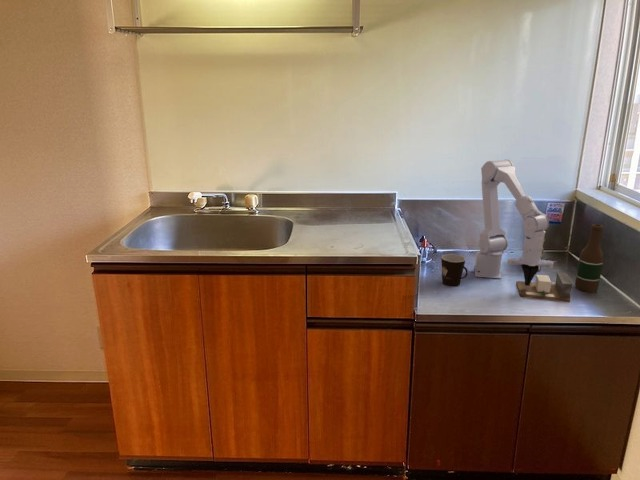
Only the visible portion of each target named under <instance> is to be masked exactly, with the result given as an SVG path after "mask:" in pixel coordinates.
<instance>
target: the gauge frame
mask: <svg viewBox="0 0 640 480" xmlns="http://www.w3.org/2000/svg"><path fill="white" fill-rule="evenodd" d="M555 283H556V286H555V287H551V288H550V293H548V292H545V293H546V295H544V293H543V292H538V291H537V289H536V287H535V281H534V282H533V281H531V283H530V286H526V285H525V280H524V281H521V280H516V282H515V284H516V288H517V290H518V296H519V298H523V299H525V298H526V299H535V300H536V299H537V300H546V301H554V302H564V303H570V302H571V296H572V295H571V293H572V289H573V283H572V282H571V280H570V277H569V276H568V274H567V273H566V272H563V273H562V272H557V273H556V277H555Z"/></svg>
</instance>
